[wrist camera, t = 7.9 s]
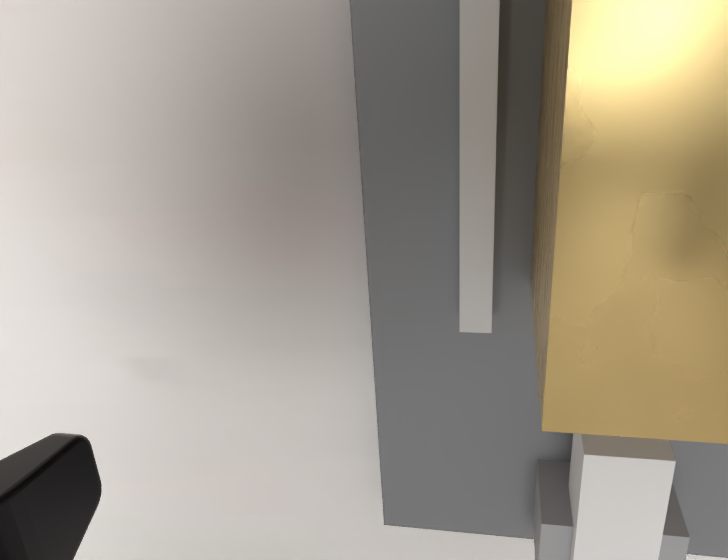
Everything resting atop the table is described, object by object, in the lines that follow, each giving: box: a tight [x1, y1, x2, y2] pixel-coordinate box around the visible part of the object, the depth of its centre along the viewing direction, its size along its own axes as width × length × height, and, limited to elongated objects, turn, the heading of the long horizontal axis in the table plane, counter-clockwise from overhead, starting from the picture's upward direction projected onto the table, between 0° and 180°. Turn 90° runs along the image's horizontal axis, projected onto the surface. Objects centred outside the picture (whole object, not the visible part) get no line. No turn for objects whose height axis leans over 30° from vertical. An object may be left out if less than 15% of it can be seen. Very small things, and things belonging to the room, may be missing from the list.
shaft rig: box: [350, 0, 728, 560], centre depth 14 cm, size 28×13×4 cm, turn 4°
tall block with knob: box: [530, 0, 728, 444], centre depth 12 cm, size 8×4×6 cm, turn 4°
